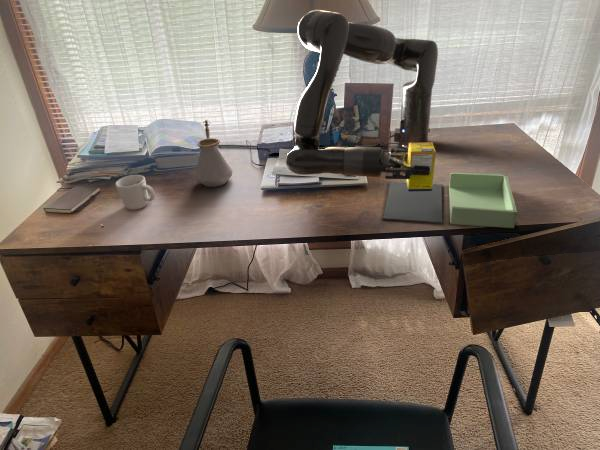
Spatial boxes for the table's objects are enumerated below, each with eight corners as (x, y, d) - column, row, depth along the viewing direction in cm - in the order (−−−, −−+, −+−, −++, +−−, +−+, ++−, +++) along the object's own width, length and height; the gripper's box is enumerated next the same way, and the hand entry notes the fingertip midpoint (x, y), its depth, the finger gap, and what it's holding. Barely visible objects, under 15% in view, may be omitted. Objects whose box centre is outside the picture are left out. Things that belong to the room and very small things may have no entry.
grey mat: (383, 219, 109) (383, 218, 109) (390, 183, 125) (390, 182, 125) (441, 223, 105) (441, 222, 105) (441, 186, 122) (441, 184, 121)
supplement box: (428, 181, 115) (432, 141, 109) (432, 191, 110) (436, 151, 104) (405, 181, 115) (408, 142, 110) (407, 192, 110) (410, 151, 105)
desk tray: (450, 223, 105) (452, 207, 103) (449, 186, 121) (450, 172, 119) (513, 228, 101) (517, 211, 99) (503, 189, 117) (506, 174, 115)
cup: (165, 201, 127) (158, 176, 122) (149, 215, 120) (141, 189, 116) (134, 197, 130) (127, 173, 126) (117, 211, 124) (108, 185, 119)
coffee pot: (235, 186, 131) (227, 139, 123) (196, 192, 130) (186, 144, 122) (231, 159, 149) (224, 116, 141) (197, 164, 148) (188, 121, 140)
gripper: (359, 159, 105) (431, 162, 101) (367, 137, 117) (432, 139, 113) (358, 187, 109) (428, 191, 105) (366, 163, 121) (429, 166, 117)
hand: (429, 164), depth 109 cm, fingers closed on supplement box, 6 cm apart
